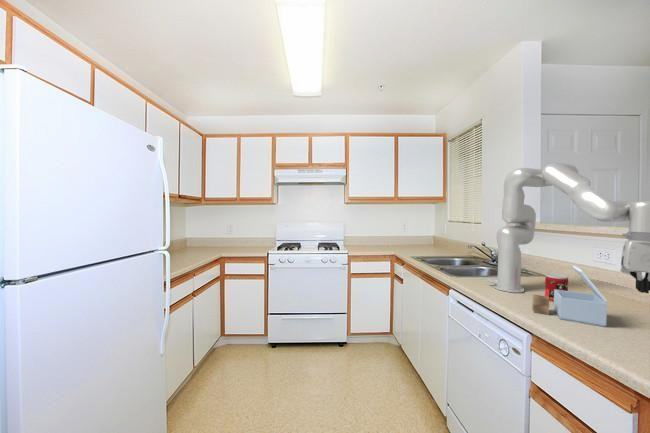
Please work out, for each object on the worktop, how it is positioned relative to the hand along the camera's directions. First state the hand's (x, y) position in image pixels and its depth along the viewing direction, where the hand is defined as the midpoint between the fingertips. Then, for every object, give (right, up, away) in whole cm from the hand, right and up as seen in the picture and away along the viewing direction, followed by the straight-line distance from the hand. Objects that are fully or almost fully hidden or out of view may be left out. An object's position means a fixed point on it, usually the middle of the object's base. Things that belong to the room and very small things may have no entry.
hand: (642, 291), depth 91 cm
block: (-24, -12, +14) cm, 30 cm away
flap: (-12, +1, +7) cm, 14 cm away
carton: (-14, -12, +9) cm, 20 cm away
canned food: (-5, -12, +28) cm, 31 cm away
